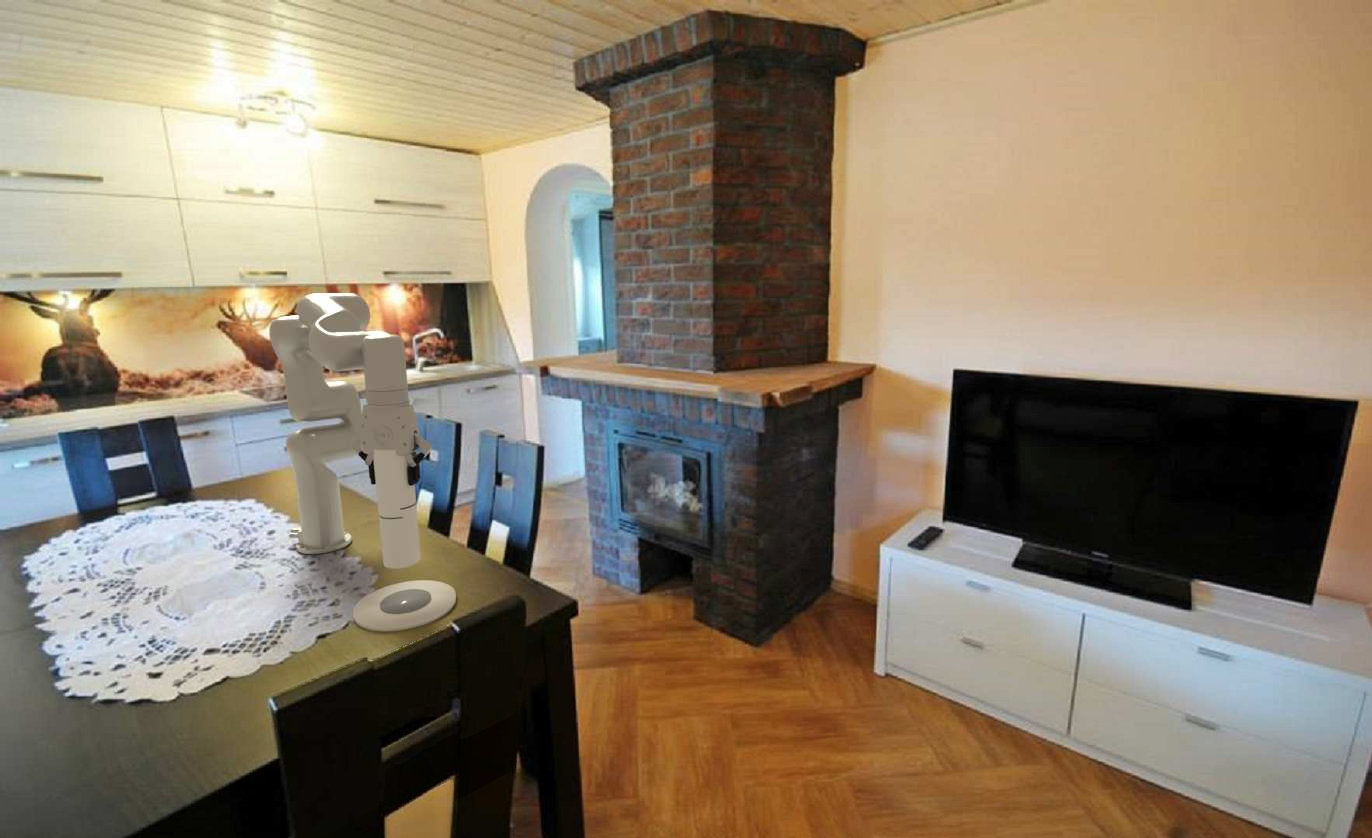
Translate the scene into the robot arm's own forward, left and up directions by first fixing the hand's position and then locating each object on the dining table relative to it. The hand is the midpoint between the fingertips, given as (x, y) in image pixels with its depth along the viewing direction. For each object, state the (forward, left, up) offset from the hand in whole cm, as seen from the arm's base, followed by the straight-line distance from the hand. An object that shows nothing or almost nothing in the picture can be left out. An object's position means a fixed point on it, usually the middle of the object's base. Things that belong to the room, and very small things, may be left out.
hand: (395, 482), depth 127 cm
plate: (0, 0, -28) cm, 28 cm away
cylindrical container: (0, 0, -17) cm, 17 cm away
